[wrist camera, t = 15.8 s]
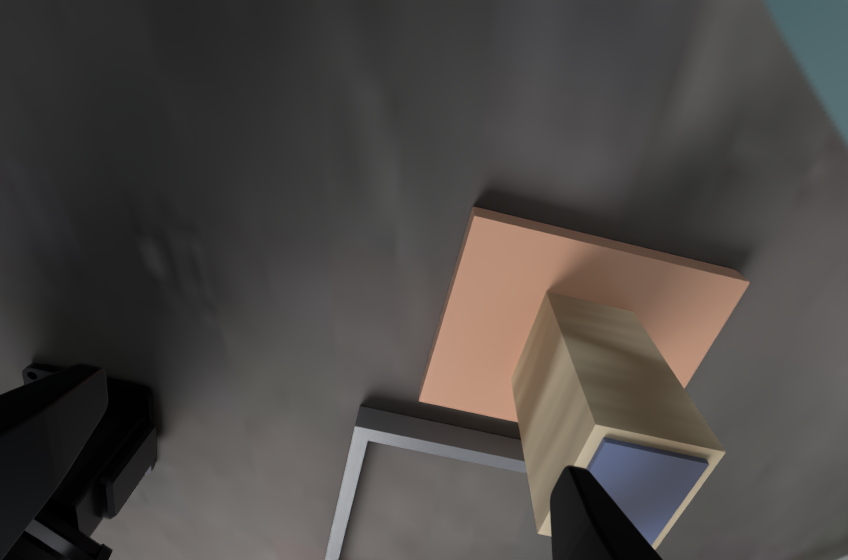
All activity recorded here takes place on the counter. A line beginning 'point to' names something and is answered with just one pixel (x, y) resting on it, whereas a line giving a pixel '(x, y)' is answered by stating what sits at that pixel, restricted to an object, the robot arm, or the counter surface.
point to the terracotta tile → (569, 276)
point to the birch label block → (608, 415)
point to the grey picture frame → (418, 438)
